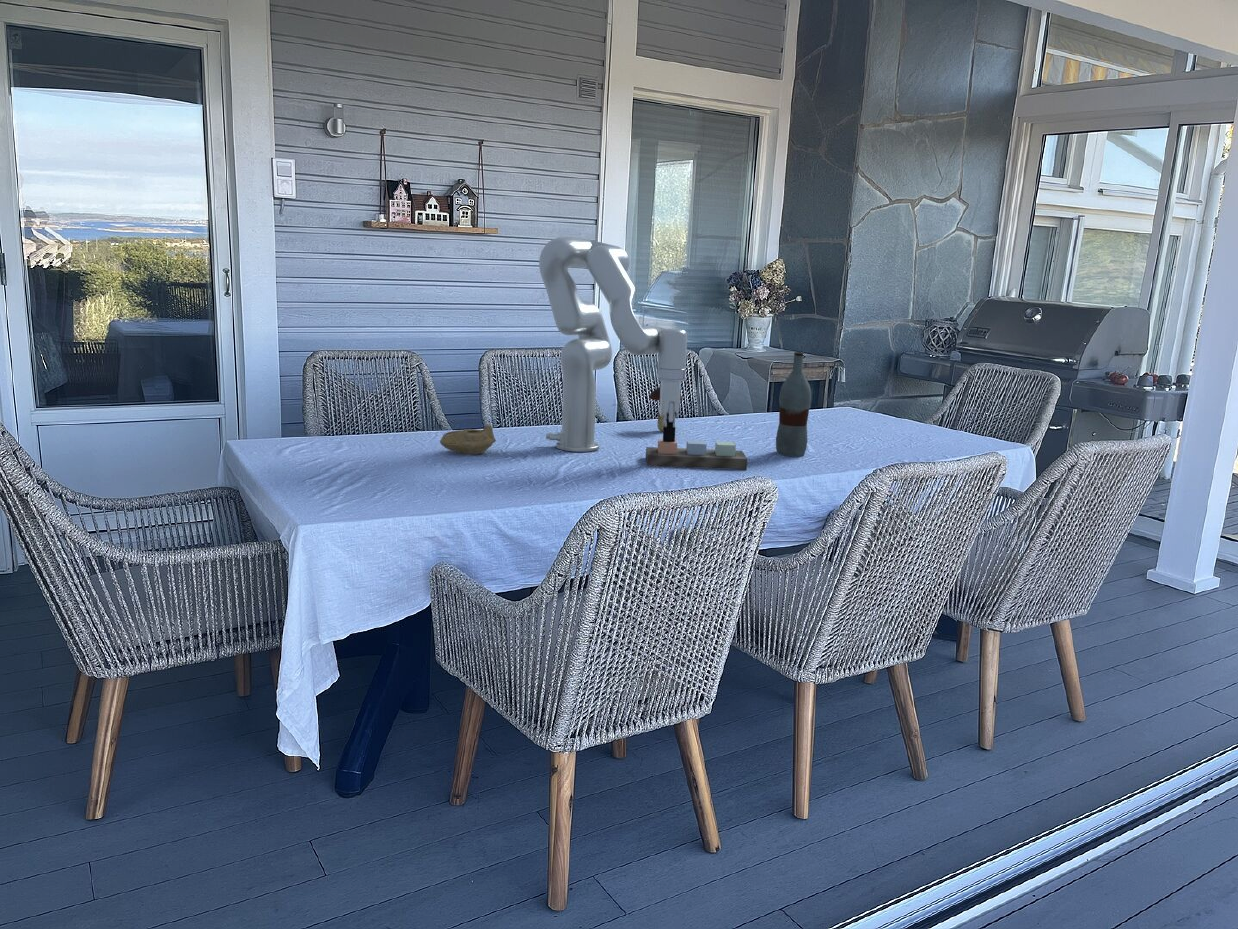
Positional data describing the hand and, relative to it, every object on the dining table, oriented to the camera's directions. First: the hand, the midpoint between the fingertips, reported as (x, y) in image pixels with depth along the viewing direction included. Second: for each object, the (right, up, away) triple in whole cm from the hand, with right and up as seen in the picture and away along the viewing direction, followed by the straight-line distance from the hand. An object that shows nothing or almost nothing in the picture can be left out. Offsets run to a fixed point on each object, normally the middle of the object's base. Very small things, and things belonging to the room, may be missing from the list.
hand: (668, 441), depth 265 cm
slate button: (+7, -5, +1) cm, 9 cm away
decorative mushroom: (+1, +4, +47) cm, 48 cm away
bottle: (+37, -3, +21) cm, 43 cm away
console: (+7, -6, +2) cm, 10 cm away
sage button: (+15, -5, +1) cm, 16 cm away
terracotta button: (-1, -4, +1) cm, 5 cm away
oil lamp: (-56, -3, +2) cm, 56 cm away
